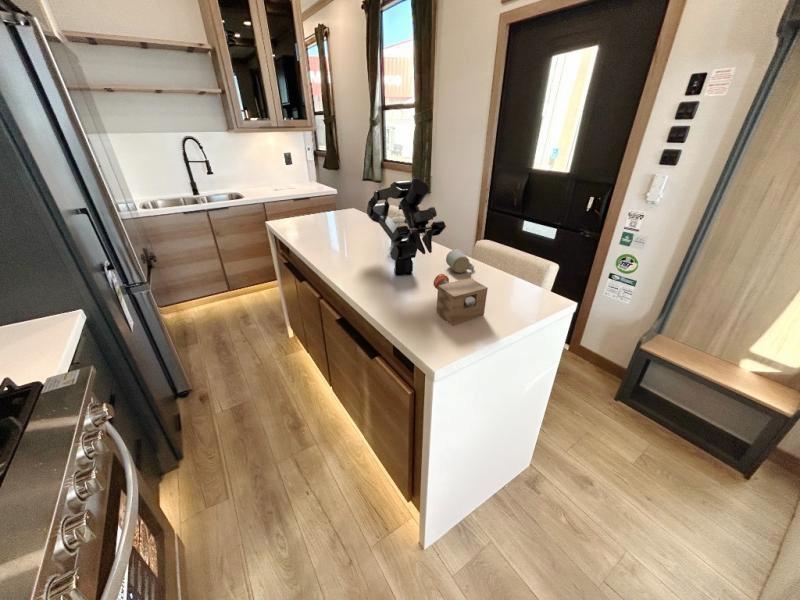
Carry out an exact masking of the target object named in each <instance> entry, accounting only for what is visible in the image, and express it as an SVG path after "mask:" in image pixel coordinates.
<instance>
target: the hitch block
mask: <svg viewBox="0 0 800 600" xmlns="http://www.w3.org/2000/svg"><path fill="white" fill-rule="evenodd" d="M488 290H489V289H488V287H487V286H485V285H484V284H482V283H480V282H478V281H477V280H475V279H474V278H471V277H468V278H463V279H460V280H455V281H452V282H450V283H447V284H442V285H438V289H437V296H436V297H437V298H436V308H435V309H436V312H435V313H436V315H438V316H439V317H440V318H441V319H442V320H444V321H445V322H446V323H448V324H449V325H450V326H454V325H458V324H462V323H465V322H467V321H468V322H469V321H472V320H474V319H479V318H481V317H484V315H485V310H486V309H485V308H486V302H487V297H488V296H487V294H488ZM466 296H472V297H473V298H475V304H474V305H473V306H471V307H469V306H468V305H466V304H465V303H464V297H466Z"/></svg>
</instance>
